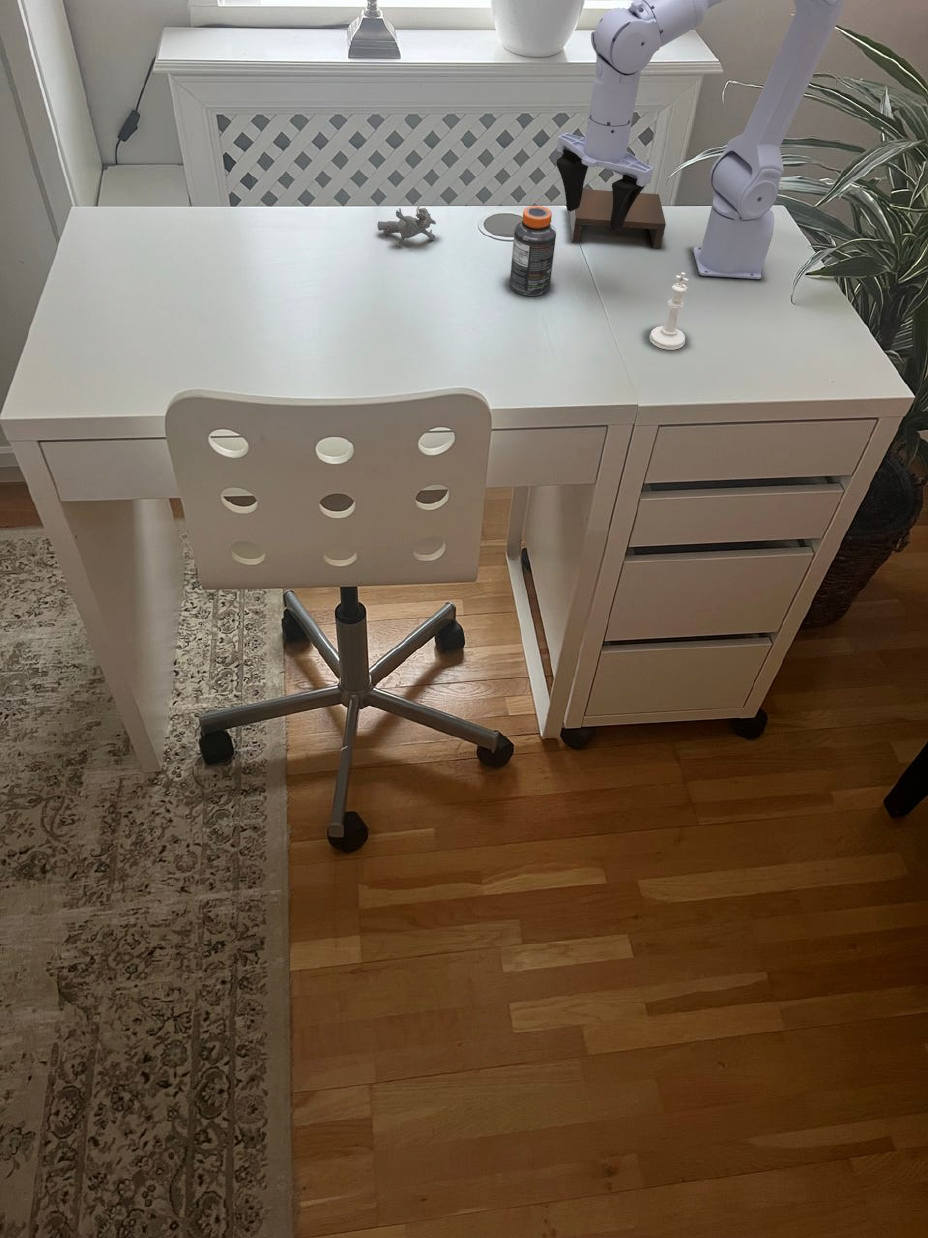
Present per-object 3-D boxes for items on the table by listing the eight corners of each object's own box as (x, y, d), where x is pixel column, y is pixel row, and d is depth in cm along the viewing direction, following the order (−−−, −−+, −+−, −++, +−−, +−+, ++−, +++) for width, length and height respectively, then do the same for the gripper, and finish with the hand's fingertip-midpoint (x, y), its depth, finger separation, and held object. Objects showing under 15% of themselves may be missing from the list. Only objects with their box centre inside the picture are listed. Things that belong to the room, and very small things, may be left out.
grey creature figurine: (403, 221, 153) (450, 217, 148) (398, 259, 153) (444, 256, 148) (364, 195, 144) (412, 190, 140) (358, 235, 145) (406, 232, 140)
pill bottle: (550, 277, 144) (560, 203, 135) (548, 298, 140) (558, 223, 131) (510, 273, 144) (517, 199, 135) (507, 294, 140) (515, 219, 131)
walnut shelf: (653, 217, 158) (659, 193, 155) (660, 248, 151) (666, 223, 148) (569, 212, 158) (572, 188, 155) (572, 242, 151) (575, 217, 148)
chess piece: (676, 354, 132) (693, 287, 125) (643, 341, 134) (658, 274, 126) (690, 337, 135) (707, 271, 127) (658, 326, 136) (673, 259, 129)
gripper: (548, 107, 127) (536, 208, 137) (638, 143, 121) (619, 246, 131) (580, 94, 130) (567, 193, 140) (669, 128, 124) (648, 229, 134)
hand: (594, 218), depth 136 cm, fingers open, 7 cm apart
